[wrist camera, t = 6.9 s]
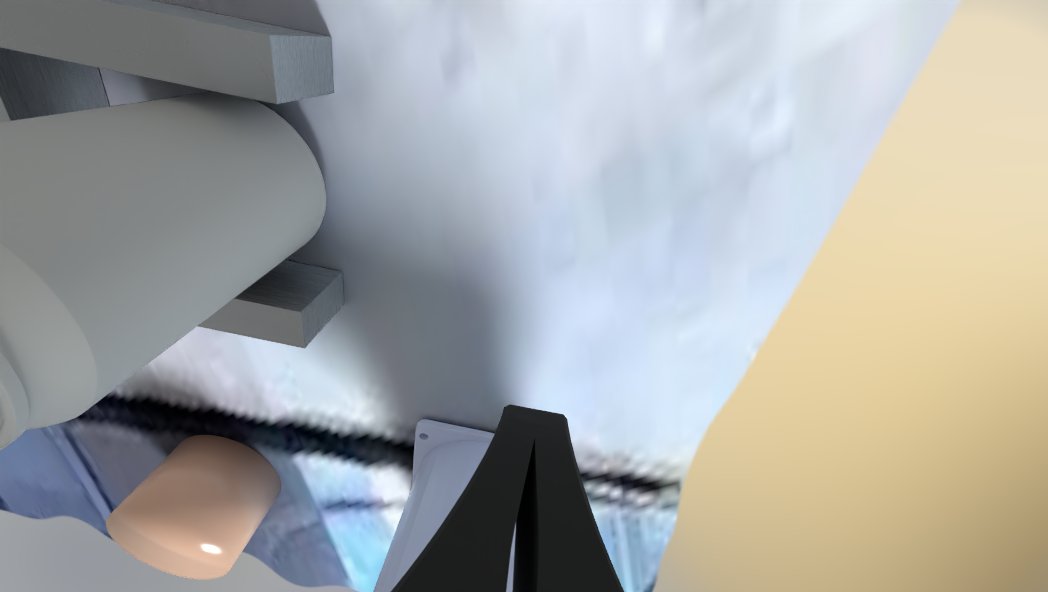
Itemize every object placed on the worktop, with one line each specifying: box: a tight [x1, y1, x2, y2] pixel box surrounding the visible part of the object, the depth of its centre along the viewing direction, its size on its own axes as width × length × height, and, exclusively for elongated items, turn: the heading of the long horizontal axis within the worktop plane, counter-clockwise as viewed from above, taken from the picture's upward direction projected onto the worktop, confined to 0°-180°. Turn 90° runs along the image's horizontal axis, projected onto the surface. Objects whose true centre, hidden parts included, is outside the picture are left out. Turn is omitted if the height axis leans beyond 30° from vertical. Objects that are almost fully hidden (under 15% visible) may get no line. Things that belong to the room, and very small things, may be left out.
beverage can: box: [0, 92, 326, 450], centre depth 13 cm, size 6×6×12 cm
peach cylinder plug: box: [106, 435, 281, 579], centre depth 27 cm, size 7×7×5 cm
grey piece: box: [0, 0, 344, 348], centre depth 16 cm, size 11×11×4 cm
